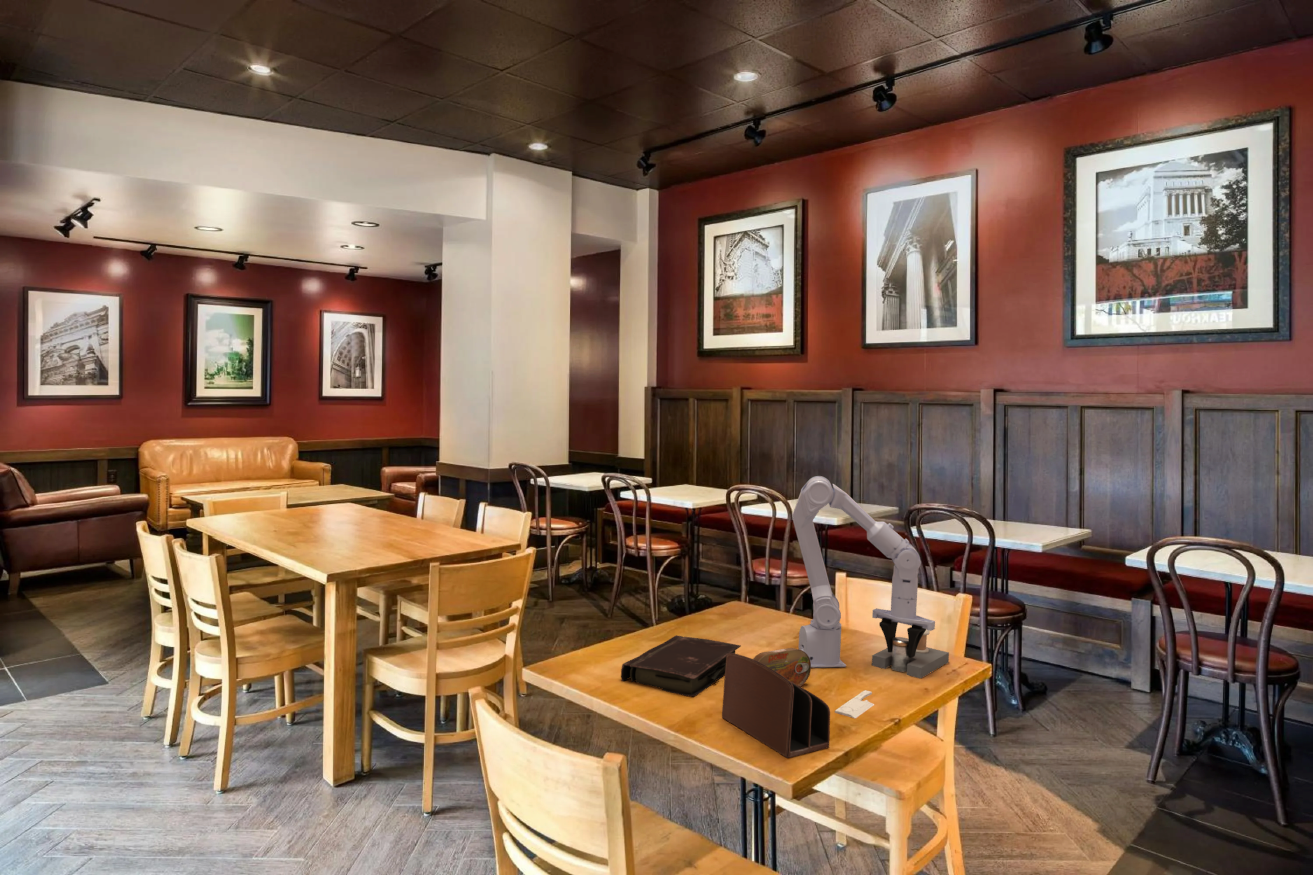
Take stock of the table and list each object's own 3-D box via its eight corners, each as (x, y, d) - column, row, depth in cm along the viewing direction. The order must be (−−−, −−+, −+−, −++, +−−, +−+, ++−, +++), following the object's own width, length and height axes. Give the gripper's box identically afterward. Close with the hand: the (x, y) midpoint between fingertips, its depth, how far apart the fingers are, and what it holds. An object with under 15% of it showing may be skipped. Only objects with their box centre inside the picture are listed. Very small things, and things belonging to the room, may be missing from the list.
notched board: (920, 678, 184) (922, 645, 183) (871, 665, 192) (873, 634, 191) (948, 662, 196) (950, 631, 195) (901, 650, 204) (902, 621, 203)
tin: (753, 695, 170) (755, 656, 169) (745, 690, 173) (747, 651, 172) (811, 686, 177) (812, 648, 176) (802, 681, 180) (803, 643, 179)
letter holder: (787, 759, 141) (790, 679, 140) (720, 718, 158) (723, 647, 157) (830, 748, 146) (833, 671, 145) (761, 709, 163) (764, 640, 162)
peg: (895, 672, 187) (897, 642, 187) (887, 666, 191) (889, 636, 191) (912, 671, 188) (914, 642, 188) (904, 665, 192) (906, 636, 192)
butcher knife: (887, 699, 171) (887, 694, 171) (857, 721, 159) (858, 716, 159) (864, 693, 174) (864, 688, 174) (833, 714, 162) (834, 709, 162)
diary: (619, 684, 176) (619, 661, 176) (672, 653, 198) (673, 633, 198) (696, 700, 167) (697, 676, 167) (743, 666, 189) (744, 645, 189)
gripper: (941, 599, 187) (938, 657, 188) (883, 588, 197) (880, 643, 197) (928, 604, 182) (925, 664, 182) (869, 592, 191) (866, 649, 192)
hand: (901, 653), depth 190 cm, fingers open, 4 cm apart
